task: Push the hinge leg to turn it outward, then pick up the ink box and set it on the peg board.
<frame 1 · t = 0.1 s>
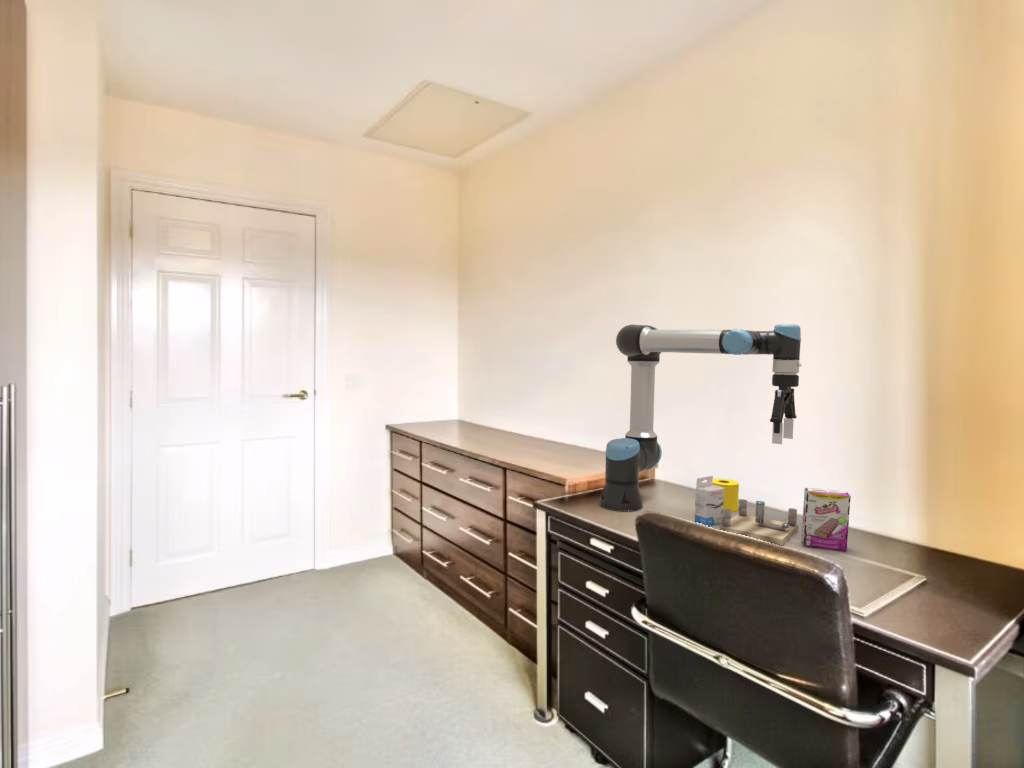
hand: (782, 441, 176), 28 cm above the table, fingers open, 13 cm apart
ink box: (708, 523, 181), on the table
yellow paper roll: (722, 508, 199), on the table
peg board: (759, 531, 173), on the table
hinge leg: (772, 515, 170), point 6 cm above the table, hinge at 0.0°
candy bar box: (823, 547, 161), on the table
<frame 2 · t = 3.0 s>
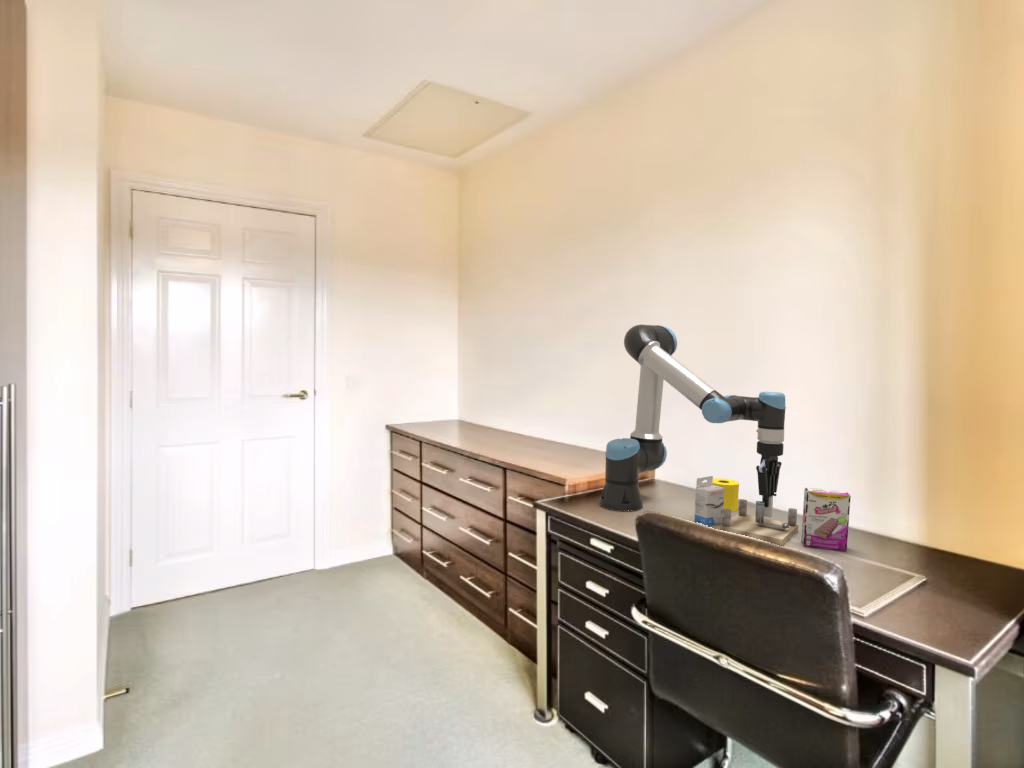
hand: (766, 516, 175), 4 cm above the table, fingers closed
hinge leg: (772, 515, 170), point 6 cm above the table, hinge at 0.1°, touching gripper
everything else where it was.
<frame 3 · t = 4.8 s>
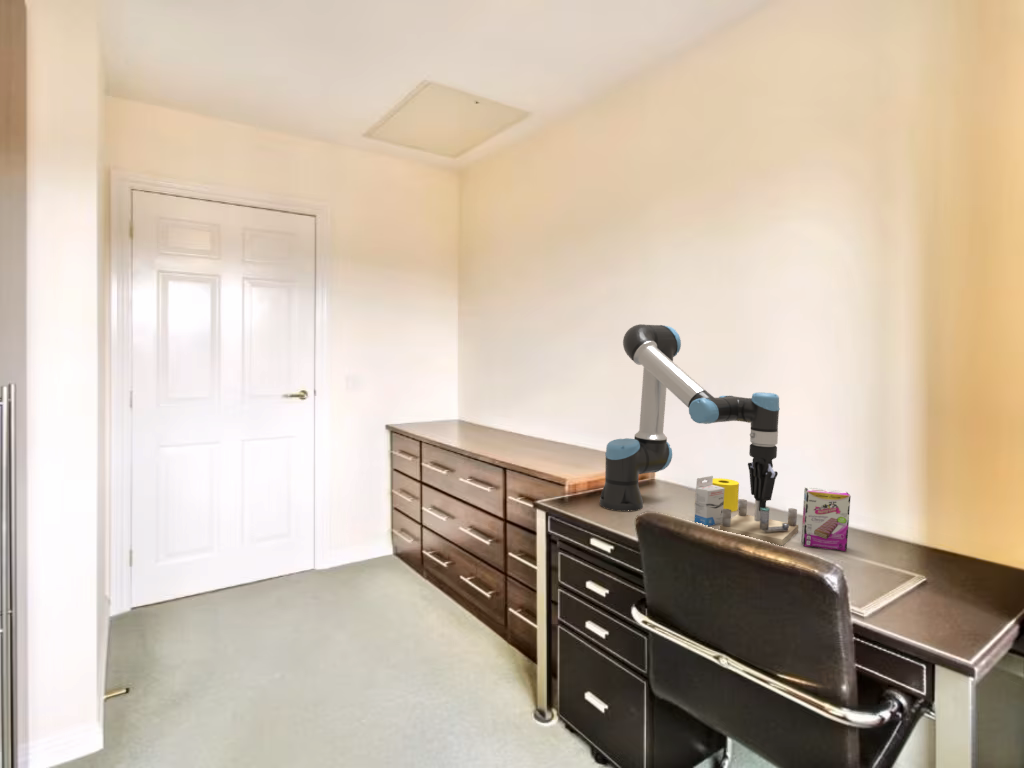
hand: (759, 520, 170), 4 cm above the table, fingers closed
hinge leg: (774, 518, 167), point 6 cm above the table, hinge at 54.1°, touching gripper
everything else where it was.
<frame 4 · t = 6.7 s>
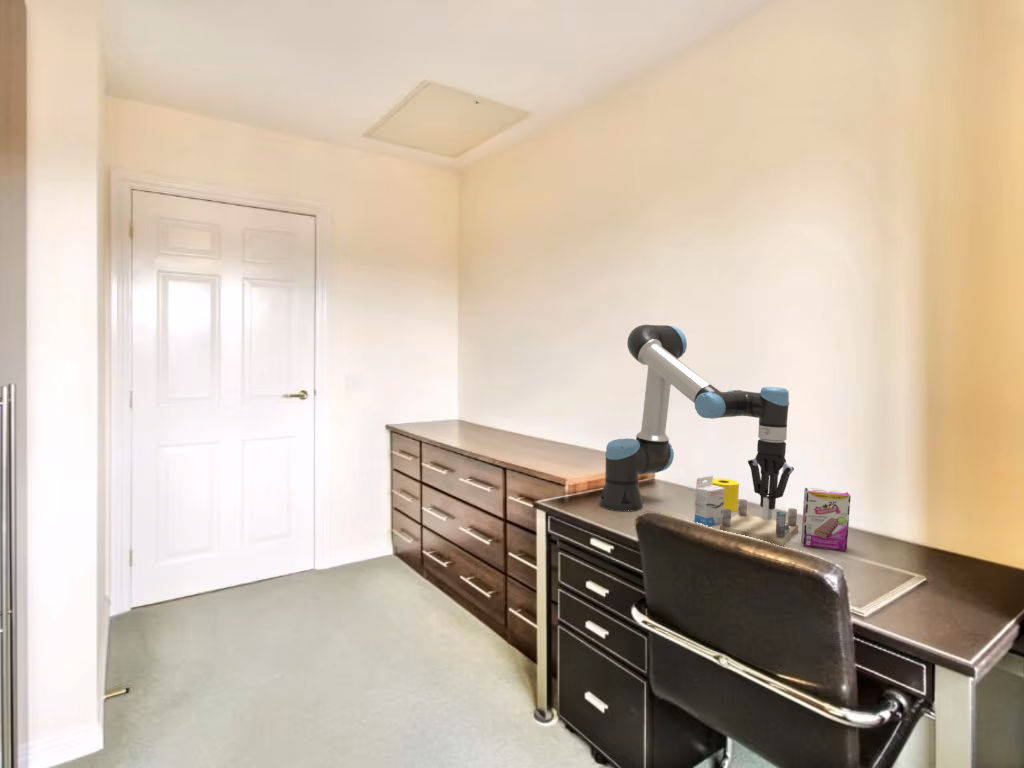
hand: (766, 518, 165), 6 cm above the table, fingers closed
hinge leg: (783, 521, 165), point 6 cm above the table, hinge at 93.7°
everything else where it was.
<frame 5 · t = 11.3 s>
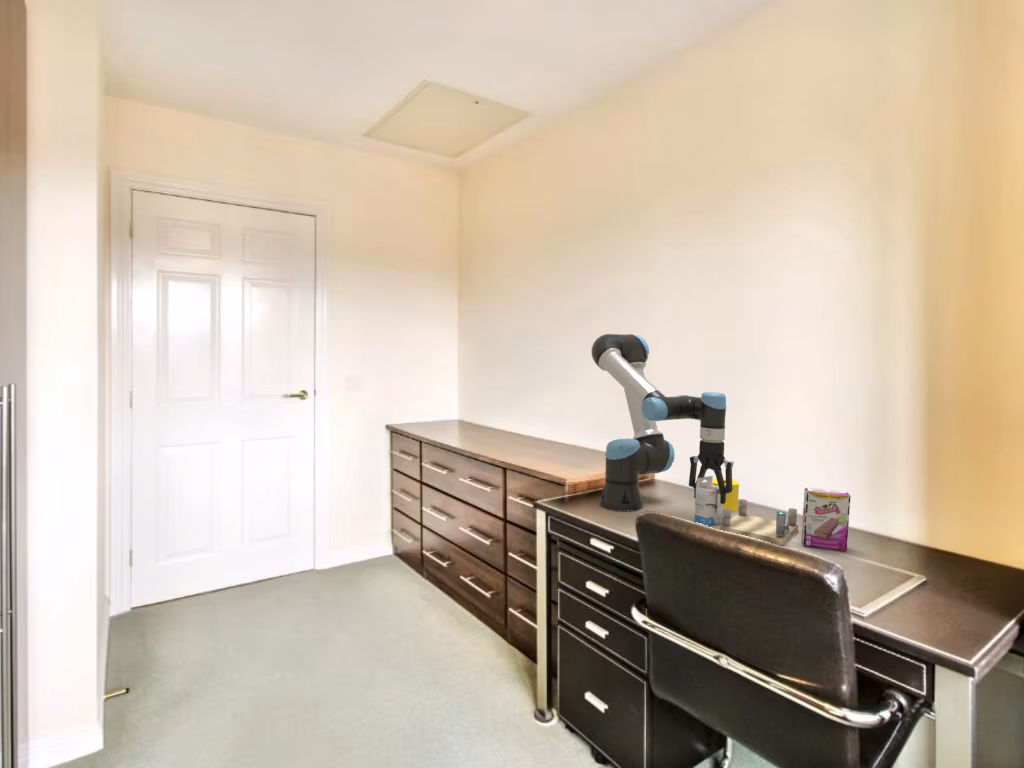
hand: (709, 510, 181), 4 cm above the table, fingers closed on ink box, 6 cm apart
ink box: (708, 523, 181), on the table, touching gripper
everything else where it was.
when the fingers open (7 cm above the table, at t = 16.0 s): ink box drops 1 cm, resting on peg board.
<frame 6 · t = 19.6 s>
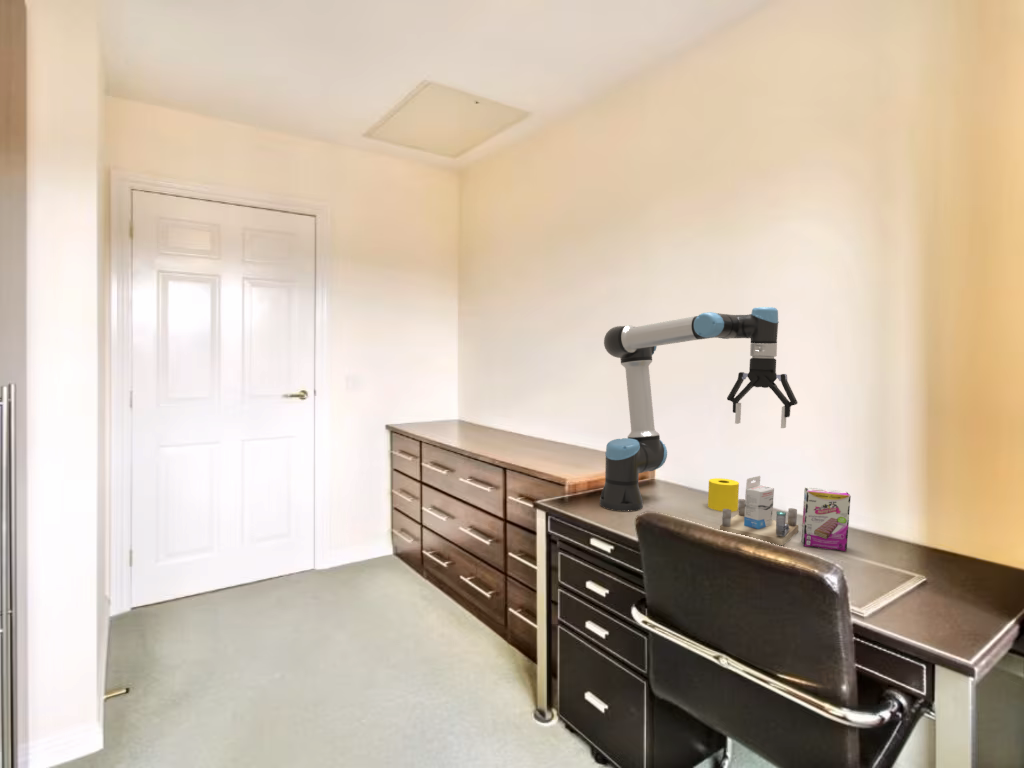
hand: (759, 425, 174), 33 cm above the table, fingers open, 13 cm apart
ink box: (758, 525, 173), point 2 cm above the table, touching peg board
everything else where it was.
at the end: hinge leg at +94° (first picture: +0°); ink box 0.3 cm from the peg board (horizontally); ink box tilted 0° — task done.
